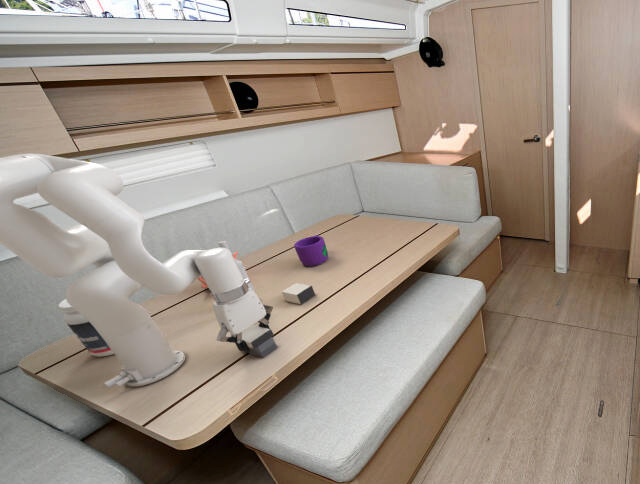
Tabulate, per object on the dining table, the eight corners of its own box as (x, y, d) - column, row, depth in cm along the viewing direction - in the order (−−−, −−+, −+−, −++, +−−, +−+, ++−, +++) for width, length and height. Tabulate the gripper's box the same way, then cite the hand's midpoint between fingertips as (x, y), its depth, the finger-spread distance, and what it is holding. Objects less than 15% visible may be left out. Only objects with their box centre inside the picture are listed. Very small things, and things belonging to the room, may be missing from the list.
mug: (325, 266, 149) (318, 245, 145) (297, 269, 148) (289, 248, 144) (337, 248, 165) (330, 228, 160) (311, 251, 164) (304, 232, 159)
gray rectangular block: (263, 357, 101) (258, 347, 99) (242, 351, 104) (237, 340, 102) (277, 347, 104) (272, 337, 102) (257, 341, 107) (251, 331, 106)
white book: (254, 348, 98) (251, 343, 97) (235, 343, 101) (232, 337, 100) (273, 335, 103) (271, 329, 102) (255, 329, 106) (252, 324, 105)
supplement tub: (81, 357, 106) (40, 308, 98) (128, 329, 118) (96, 283, 110) (113, 360, 104) (75, 310, 96) (159, 331, 115) (128, 284, 107)
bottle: (251, 308, 124) (220, 245, 113) (239, 307, 125) (208, 245, 114) (263, 300, 128) (235, 238, 117) (252, 299, 129) (222, 238, 118)
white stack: (301, 304, 124) (297, 295, 122) (285, 300, 127) (281, 291, 125) (315, 295, 129) (312, 285, 127) (299, 291, 132) (296, 282, 130)
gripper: (252, 274, 103) (275, 322, 111) (186, 308, 89) (217, 361, 97) (270, 277, 101) (291, 327, 109) (205, 313, 86) (235, 367, 94)
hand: (256, 342), depth 103 cm, fingers closed on white book, 6 cm apart
